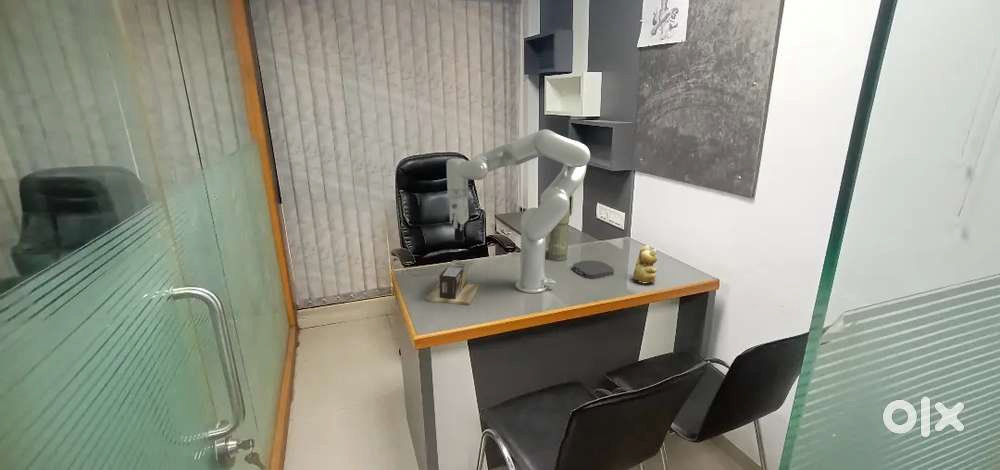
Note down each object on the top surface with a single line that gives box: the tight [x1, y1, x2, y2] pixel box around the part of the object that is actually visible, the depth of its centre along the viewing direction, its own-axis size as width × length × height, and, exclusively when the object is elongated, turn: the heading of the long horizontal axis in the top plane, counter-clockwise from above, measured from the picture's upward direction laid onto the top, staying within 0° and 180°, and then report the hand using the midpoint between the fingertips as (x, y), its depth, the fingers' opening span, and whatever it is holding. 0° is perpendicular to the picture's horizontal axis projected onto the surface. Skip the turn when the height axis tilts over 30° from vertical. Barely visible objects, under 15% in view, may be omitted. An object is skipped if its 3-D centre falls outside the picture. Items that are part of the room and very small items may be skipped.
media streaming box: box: [572, 260, 615, 280], centre depth 197 cm, size 15×15×3 cm
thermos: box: [547, 194, 574, 262], centre depth 208 cm, size 9×12×35 cm
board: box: [426, 282, 480, 306], centre depth 173 cm, size 16×16×1 cm
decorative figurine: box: [633, 244, 658, 283], centre depth 185 cm, size 10×8×15 cm
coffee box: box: [438, 259, 469, 299], centre depth 173 cm, size 9×6×16 cm
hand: (459, 240), depth 174 cm, fingers closed
